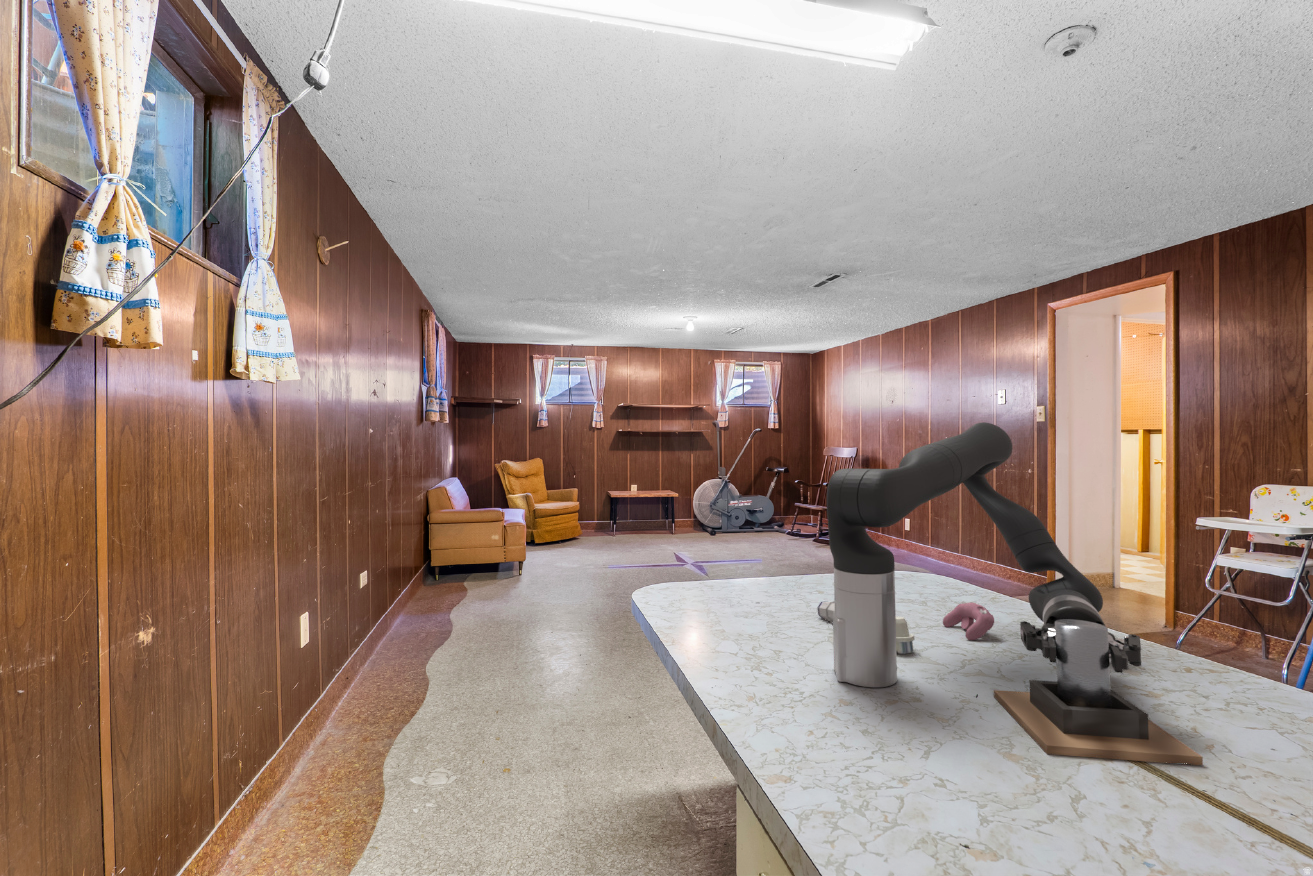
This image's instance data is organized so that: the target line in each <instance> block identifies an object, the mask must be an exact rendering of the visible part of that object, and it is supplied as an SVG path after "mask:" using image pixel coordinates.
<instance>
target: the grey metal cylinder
mask: <svg viewBox="0 0 1313 876" xmlns="http://www.w3.org/2000/svg"><path fill="white" fill-rule="evenodd" d="M1108 632H1109V628H1108V626H1106V625H1105V626H1104V625H1101V624H1097V623H1093V622H1088V621H1082V620H1071V619H1063V620H1056V621H1055V639H1056V663H1055V664H1056V681H1057V688H1058V698H1059V699H1060V700H1061V701H1062V702H1064V703H1065V704H1066V705H1067V706H1073V707H1089V708H1105V709H1111V689H1112V688H1111V669H1110V668H1111V667H1110V661H1109V642H1108Z"/></svg>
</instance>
